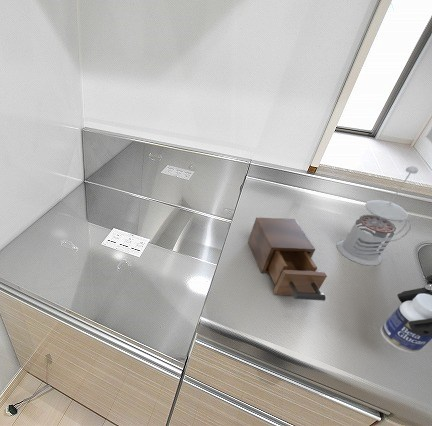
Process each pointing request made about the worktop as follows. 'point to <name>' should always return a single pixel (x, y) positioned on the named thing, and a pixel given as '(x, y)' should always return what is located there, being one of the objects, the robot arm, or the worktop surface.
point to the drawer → (296, 275)
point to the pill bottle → (399, 328)
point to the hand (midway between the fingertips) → (406, 313)
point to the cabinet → (276, 239)
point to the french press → (367, 244)
